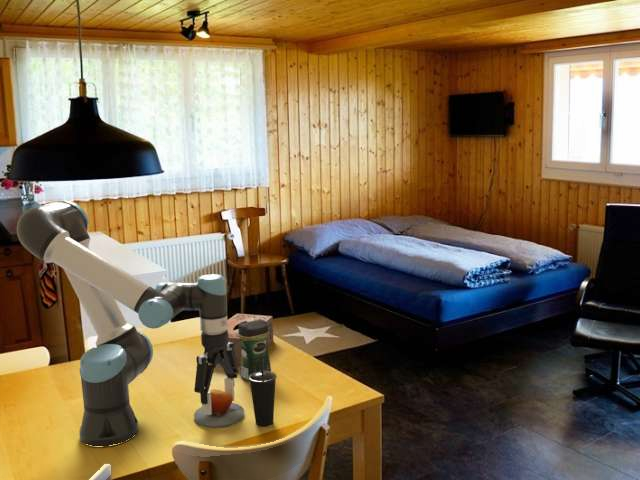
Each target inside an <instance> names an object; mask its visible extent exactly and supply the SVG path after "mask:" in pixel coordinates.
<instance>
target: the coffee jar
mask: <svg viewBox="0 0 640 480" xmlns="http://www.w3.org/2000/svg"><path fill="white" fill-rule="evenodd" d="M238 335H239V338H240V340H241V366H240V376H241V377H242V378H243V379H244V380H247V381H249V379H248V377H249V375H250V374H252V373H255V372H257V371H261V359H260V354H263V371H269V372H272V368H271V367H272V366H271V360H270V355H269V353H270V352H269V346H268V345H267V339H268V335H269V330H268V325H267V322H266V321H264V320H262V319H259V320H255V321H250V322H246V323H240V324H239V331H238Z"/></svg>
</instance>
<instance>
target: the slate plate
mask: <svg viewBox="0 0 640 480" xmlns="http://www.w3.org/2000/svg"><path fill="white" fill-rule="evenodd" d="M244 417H245V409H244V407H243V406H242V405H240V404H238V403H236V402H232V404H231V406H230V407H229V409H228V411H227V412H226V413H224V414H222V415H220V418H219V417H218V416H217V415H215V414H211V415H207V414H204V413H202V406H201V407H198V408H197V409H196V410H195V412H194V414H193V418H194V420H193V421H194V422H195V423H196V424H197V425H198V426H199V427H202V428H208V429H221V428H222V429H223V428H227V427H230V426H235V425H236V424H238V423H240V422H241V421H242V420H243V419H244Z"/></svg>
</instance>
